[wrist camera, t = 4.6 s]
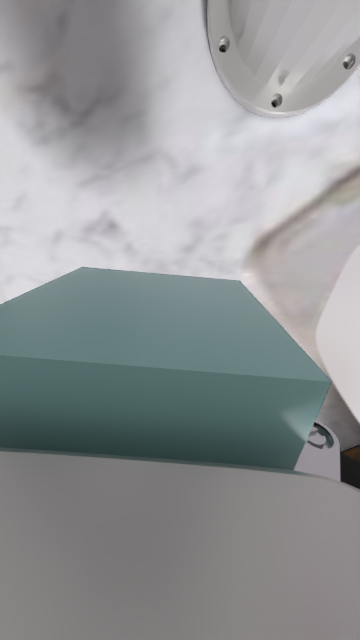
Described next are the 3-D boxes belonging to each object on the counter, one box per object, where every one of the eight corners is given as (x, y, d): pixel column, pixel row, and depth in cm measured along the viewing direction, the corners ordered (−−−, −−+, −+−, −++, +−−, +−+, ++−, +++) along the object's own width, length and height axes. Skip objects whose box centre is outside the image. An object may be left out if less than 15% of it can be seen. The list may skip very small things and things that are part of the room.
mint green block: (81, 266, 11) (-94, 347, 4) (240, 280, 11) (332, 382, 4) (93, 391, 14) (4, 559, 7) (216, 401, 14) (247, 575, 7)
